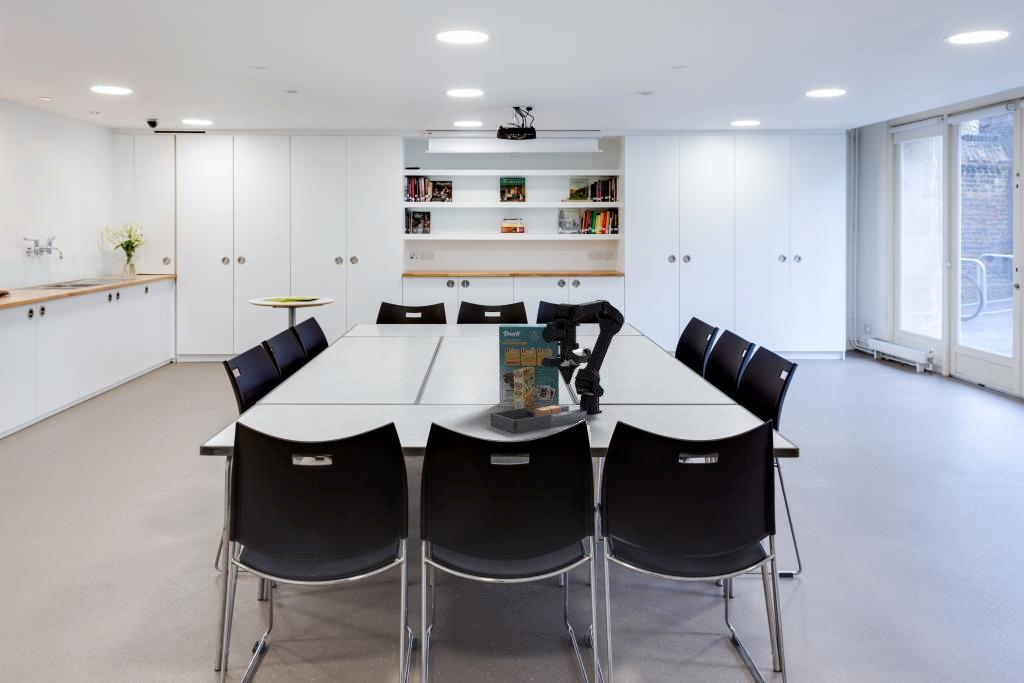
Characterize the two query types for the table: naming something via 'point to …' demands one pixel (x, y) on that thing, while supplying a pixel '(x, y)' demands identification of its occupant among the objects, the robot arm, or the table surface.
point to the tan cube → (542, 411)
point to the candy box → (524, 388)
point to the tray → (519, 421)
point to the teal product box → (527, 363)
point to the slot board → (564, 416)
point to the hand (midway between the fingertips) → (567, 384)
